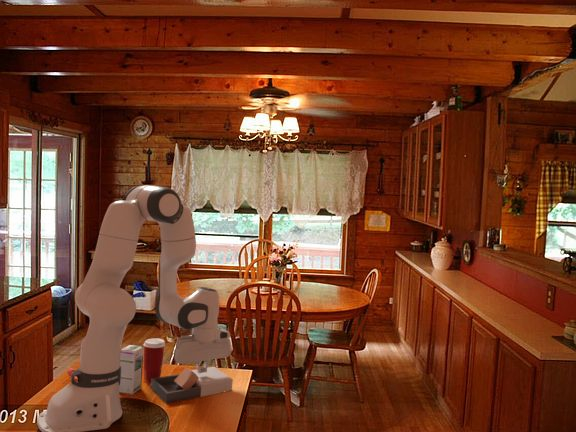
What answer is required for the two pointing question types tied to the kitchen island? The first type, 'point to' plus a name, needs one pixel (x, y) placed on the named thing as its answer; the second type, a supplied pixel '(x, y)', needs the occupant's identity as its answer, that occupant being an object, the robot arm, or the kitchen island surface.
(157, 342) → the paper cup
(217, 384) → the flat white box
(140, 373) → the syrup box
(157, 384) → the tray
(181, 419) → the kitchen island surface
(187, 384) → the tile
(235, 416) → the kitchen island surface
